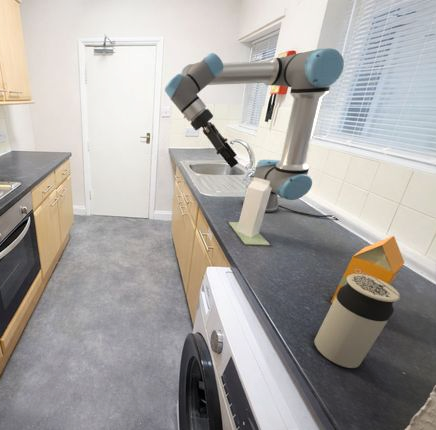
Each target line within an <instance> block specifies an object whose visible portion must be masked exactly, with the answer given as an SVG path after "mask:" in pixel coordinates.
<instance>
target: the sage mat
mask: <svg viewBox="0 0 436 430" xmlns="http://www.w3.org/2000/svg"><path fill="white" fill-rule="evenodd" d="M228 224H229V225H230V226H231V228H232V229H233V231H234V232H235V233H236V234H237V236H238V237H239V238H240V240H241V241H242V243H243V244H244V245H247V246H266V247H267V246H268V247H269V246H271V244H270V243H269V242H268V241H267V239H266V238H265V237H264V236H263V235H262V234H261V233H260V232H259V233H258V234H256V235H254V236H252V237H249V236H246V235H244V234H242V233H239V232H237V228H238V224H239V221H228Z"/></svg>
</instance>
